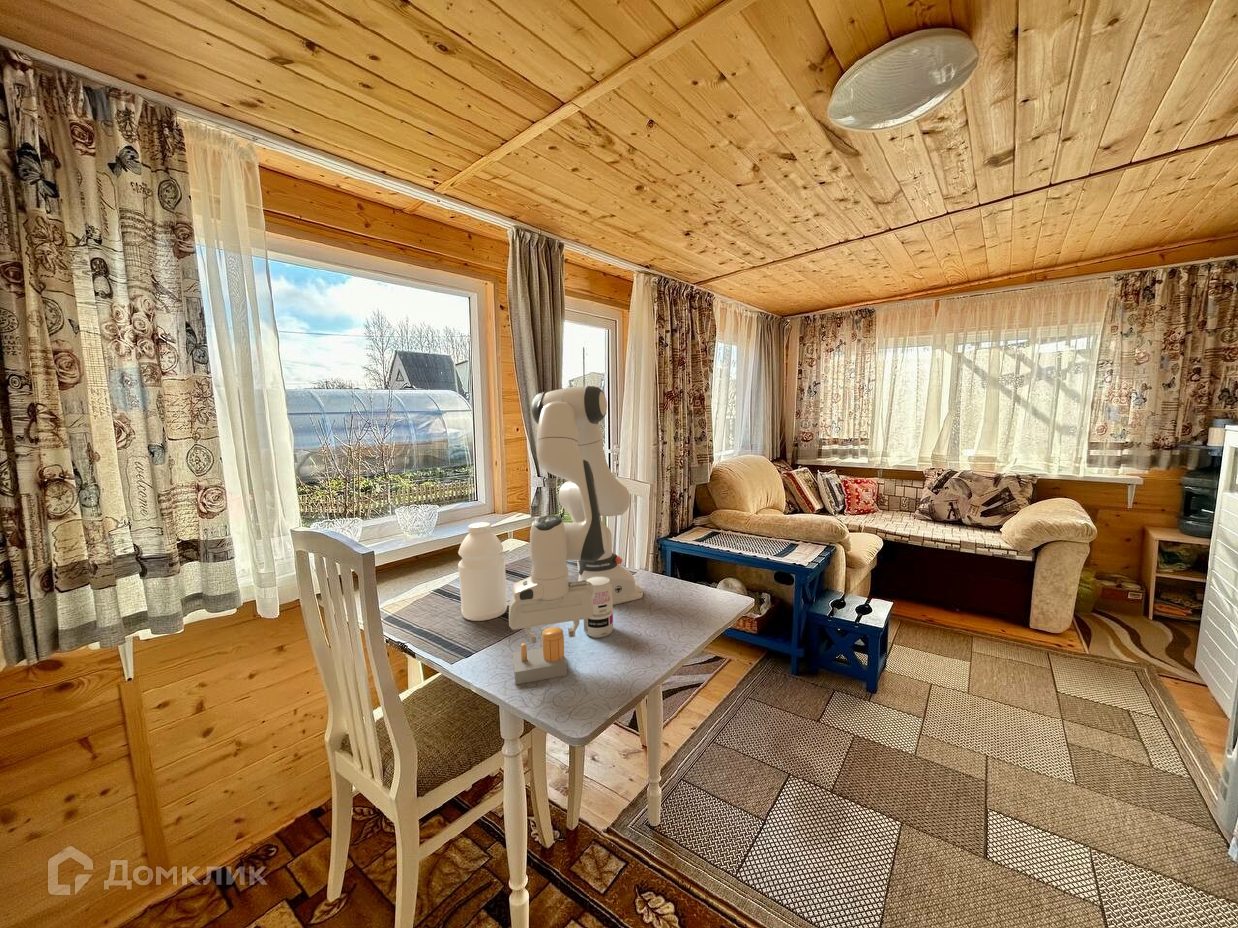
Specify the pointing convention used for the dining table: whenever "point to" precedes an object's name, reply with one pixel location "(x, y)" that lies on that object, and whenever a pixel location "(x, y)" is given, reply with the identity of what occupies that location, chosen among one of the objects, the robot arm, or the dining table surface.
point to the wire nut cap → (553, 644)
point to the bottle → (482, 574)
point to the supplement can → (600, 608)
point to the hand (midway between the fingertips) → (552, 639)
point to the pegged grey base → (536, 666)
